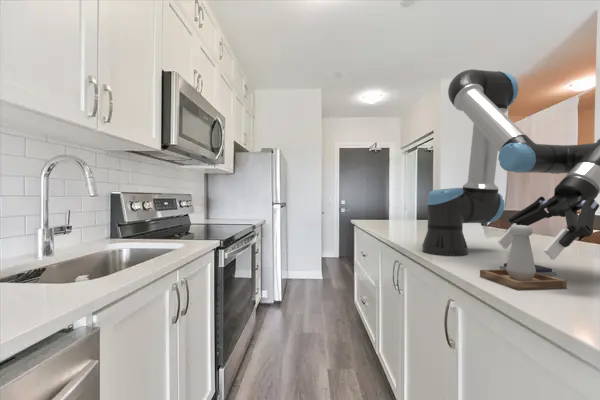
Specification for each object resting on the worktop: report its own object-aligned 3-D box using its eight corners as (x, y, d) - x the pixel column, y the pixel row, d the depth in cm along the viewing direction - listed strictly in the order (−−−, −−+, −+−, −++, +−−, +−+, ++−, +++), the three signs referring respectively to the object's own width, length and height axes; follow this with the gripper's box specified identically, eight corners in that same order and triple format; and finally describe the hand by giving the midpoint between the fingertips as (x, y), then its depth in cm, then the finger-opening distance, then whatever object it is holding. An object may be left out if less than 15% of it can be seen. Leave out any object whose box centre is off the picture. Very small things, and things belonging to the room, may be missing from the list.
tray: (479, 276, 82) (480, 269, 82) (522, 275, 84) (522, 268, 84) (517, 290, 70) (517, 282, 70) (566, 288, 72) (566, 280, 72)
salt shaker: (526, 277, 80) (527, 224, 79) (541, 283, 74) (542, 226, 74) (501, 276, 80) (501, 224, 80) (514, 282, 74) (515, 226, 74)
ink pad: (499, 268, 92) (499, 262, 92) (528, 267, 93) (528, 262, 93) (525, 275, 83) (525, 270, 83) (556, 274, 84) (557, 269, 84)
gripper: (652, 197, 66) (585, 273, 64) (545, 196, 91) (495, 251, 89) (630, 171, 65) (562, 247, 63) (528, 177, 90) (477, 232, 88)
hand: (523, 249), depth 76 cm, fingers open, 13 cm apart
